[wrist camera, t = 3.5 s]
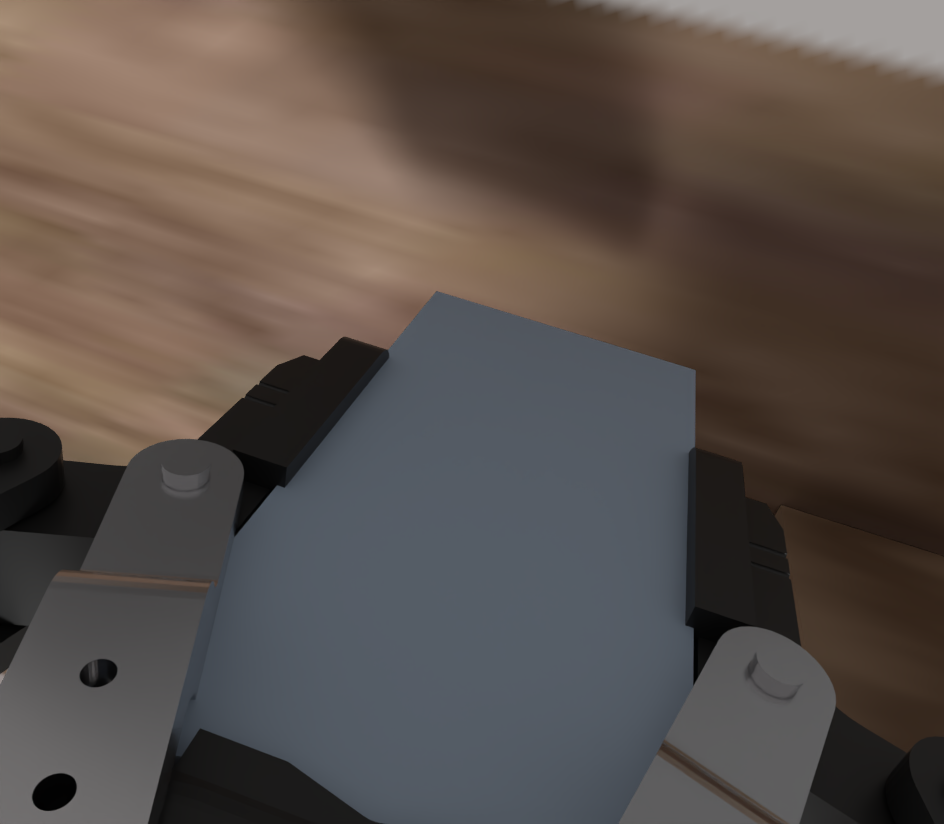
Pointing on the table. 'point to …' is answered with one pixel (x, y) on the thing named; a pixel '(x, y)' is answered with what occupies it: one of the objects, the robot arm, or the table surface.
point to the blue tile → (470, 582)
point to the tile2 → (871, 623)
